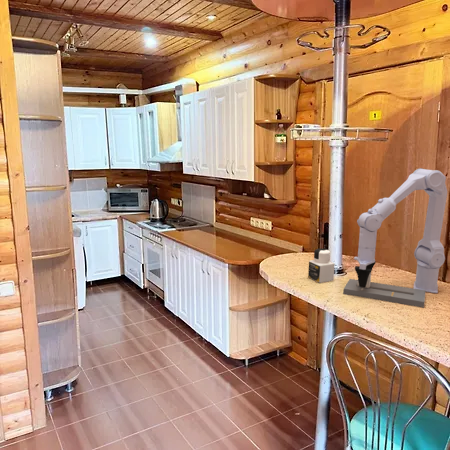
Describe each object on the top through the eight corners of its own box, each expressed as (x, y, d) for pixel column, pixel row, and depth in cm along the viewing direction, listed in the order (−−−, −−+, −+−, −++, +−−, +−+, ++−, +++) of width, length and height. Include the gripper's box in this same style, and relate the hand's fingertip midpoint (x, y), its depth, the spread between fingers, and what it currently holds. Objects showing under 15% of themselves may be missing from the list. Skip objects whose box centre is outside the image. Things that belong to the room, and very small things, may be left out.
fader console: (349, 283, 157) (349, 278, 157) (424, 295, 146) (425, 289, 145) (343, 294, 147) (343, 288, 146) (424, 307, 135) (424, 301, 135)
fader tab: (358, 283, 151) (359, 270, 150) (370, 285, 149) (371, 272, 148) (357, 286, 148) (358, 272, 147) (369, 287, 147) (370, 274, 146)
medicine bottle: (307, 277, 164) (309, 248, 161) (322, 275, 167) (324, 246, 164) (318, 283, 157) (320, 253, 155) (333, 280, 160) (335, 251, 158)
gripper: (358, 241, 154) (356, 275, 157) (351, 250, 141) (348, 287, 144) (378, 243, 151) (375, 278, 154) (373, 252, 138) (370, 291, 141)
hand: (364, 283), depth 149 cm, fingers open, 7 cm apart
